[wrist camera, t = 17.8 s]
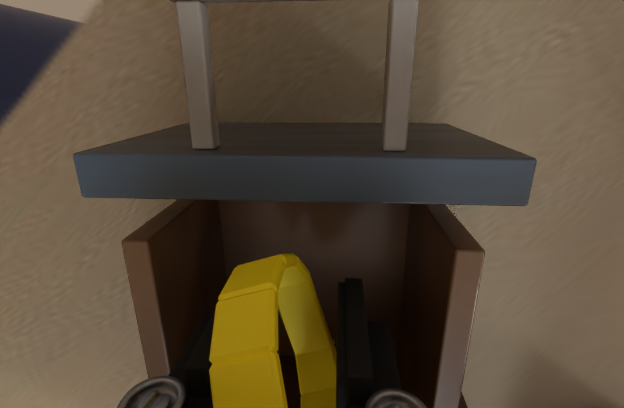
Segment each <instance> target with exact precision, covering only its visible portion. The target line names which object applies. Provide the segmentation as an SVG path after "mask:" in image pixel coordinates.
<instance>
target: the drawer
mask: <svg viewBox="0 0 624 408" xmlns="http://www.w3.org/2000/svg"><path fill="white" fill-rule="evenodd" d="M170 1H172V2H174V3H176V9H177V17H178V26H179V35H180V43H181V52H182V61H183V69H184V78H185V87H186V95H187V104H188V113H189V121H190V123H185V124H181V125H178V126H174V127H170V128H166V129H163V130H159V131H155V132H152V133H148V134H144V135H140V136H137V137H133V138H129V139H126V140H122V141H118V142H114V143H111V144H107V145H103V146H100V147H96V148H92V149H88V150H85V151H81V152H77V153H74V154H73V158H74V163H75V167H76V171H77V176H78V180H79V185H80V189H81V193H82V196H83V197H88V198H139V199H178V200H177V201H175V202H174V203H173V204H171V205H170V206H168V207H167V208H166V209H164V210H163V211H162V212H160V213H159V214H157V215H156V216H155V217H153V218H152V219H151V220H149V221H148V222H146V223H145V224H144V225H142V226H141V227H140V228H138V229H137V230H135V231H134V232H133V233H131V234H130V235H129V236H127V237H126V238H124V239H123V240H122V248H123V253H124V258H125V263H126V268H127V273H128V278H129V283H130V288H131V293H132V298H133V303H134V308H135V313H136V318H137V323H138V328H139V333H140V338H141V343H142V348H143V353H144V358H145V363H146V368H147V373H148V378H149V379H150V378H153V377H157V376H168V375H169V373H170V372H171V370H172V368H173V366H174V365H175V363H176V361H177V360H178V358H179V356H180V354H181V353H182V351H183V349H184V348H185V346H186V344H187V342H188V341H189V339H190V337H191V336H192V334H193V332H194V330H195V329H196V327H197V325H198V324H199V322H200V320H201V318H202V317H203V316H204V315H205V314H213V313H214V311H215V309H216V304H217V302H218V297H219V295H220V293H221V292H222V290H223V288H224V286H225V284H226V283H227V281H228V279H229V277H230V275H231V274H232V272H233V270H234V268H236V267H237V266H238V265H241V264H245V263H249V262H253V261H256V260H260V259H264V258H268V257H271V256H275V255H279V254H289V253H293V254H294V255H296V256H297V257H298V258H299V259H300V260H301V261H302V263H303V264H304V265H305V267H306V268H307V269H308V271H309V272H310V275H311V278H312V281H313V284H314V287H315V290H316V293H317V296H318V299H319V302H320V305H321V308H322V311H323V313H324V316H325V319H326V322H327V325H328V328H329V331H330V334H331V337H332V339H334V341H335V344H334V346H335V347H336V353H337V311H338V282H345V278H362V282H363V291H364V300H365V308H366V317H367V321H385V322H388V324H389V328H390V333H391V338H392V343H393V348H394V353H395V358H396V362H397V367H398V372H399V377H400V382H401V387H402V390H404V391H407V392H409V393H411V394H413V395H415V396H416V397H417V398H418V399H419V400H421V401H422V402H423V403H424V405H425V406H426V407H427V408H458V406H459V400H460V395H461V389H462V383H463V377H464V371H465V366H466V360H467V354H468V348H469V343H470V337H471V331H472V325H473V320H474V314H475V308H476V302H477V297H478V291H479V285H480V279H481V274H482V268H483V262H484V256H485V251H484V249H483V248H482V247H481V246H480V245H479V243H478V242H477V241H476V240H475V239H474V238H473V236H472V235H471V234H470V233H469V232H468V231H467V230H466V228H465V227H464V226H463V225H462V224H461V223H460V221H459V220H458V219H457V218H456V217H455V216H454V214H453V213H452V212H451V211H450V210H449V209H448V207H447V206H446V205H495V206H527V204H528V200H529V195H530V191H531V186H532V181H533V176H534V171H535V166H536V162H537V161H536V158H533V157H531V156H528V155H526V154H523V153H521V152H518V151H515V150H513V149H510V148H508V147H505V146H503V145H500V144H497V143H495V142H492V141H490V140H487V139H485V138H482V137H479V136H477V135H474V134H472V133H469V132H467V131H464V130H461V129H459V128H456V127H454V126H451V125H449V124H426V123H408V122H409V110H410V98H411V86H412V74H413V62H414V50H415V38H416V26H417V14H418V2H419V0H391V1H390V2H389V10H388V27H387V44H386V61H385V78H384V94H383V111H382V123H218V117H217V106H216V95H215V84H214V73H213V61H212V50H211V39H210V28H209V17H208V7H207V5H205V4H203V3H225V2H273V1H322V0H170ZM277 353H278V354H279V358H280V364H281V370H282V376H283V382H284V388H285V394H286V400H287V406H288V408H301V396H302V395H301V394H300V388H299V381H298V373H297V366H296V359H295V353H294V350H293V347H292V345H291V342H290V339H289V337H288V334H287V331H286V328H285V326H284V323H283V320H282V318H281V315H280V312H279V310H278V351H277Z"/></svg>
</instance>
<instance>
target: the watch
mask: <svg viewBox="0 0 624 408" xmlns="http://www.w3.org/2000/svg"><path fill="white" fill-rule="evenodd" d="M278 310H279V312H280V315H281V318H282V320H283V323H284V326H285V328H286V331H287V334H288V337H289V339H290V342H291V345H292V347H293V350H294V353H295V359H296V366H297V373H298V381H299V388H300V394H301V395H302V396H301V408H336V356H337V353H336V347H335V346H334V344H335V341H334V339H332V337H331V334H330V331H329V328H328V325H327V322H326V319H325V316H324V313H323V311H322V308H321V305H320V302H319V299H318V296H317V293H316V290H315V287H314V284H313V281H312V278H311V275H310V272H309V271H308V269H307V268H306V267H305V265H304V264H303V263H302V261H301V260H300V259H299V258H298V257H297V256H296V255H294V254H293V253H289V254H279V255H275V256H271V257H268V258H264V259H260V260H256V261H253V262H249V263H245V264H241V265H238V266H237V267H236V268H234V270H233V272H232V274H231V275H230V277H229V279H228V281H227V283H226V284H225V286H224V288H223V290H222V292H221V293H220V295H219V297H218V302H217V304H216V309H215V317H214V325H213V333H212V341H211V349H210V357H209V361H210V362H211V363H212V366H211V367H210V369H209V374H210V383H211V392H212V402H213V408H288V406H287V400H286V394H285V388H284V382H283V376H282V370H281V364H280V358H279V354H278V353H277V351H278Z"/></svg>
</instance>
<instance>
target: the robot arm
mask: <svg viewBox="0 0 624 408" xmlns="http://www.w3.org/2000/svg"><path fill="white" fill-rule="evenodd" d="M214 317H215V311H214V313H213V314H205V315H204V316H203V317H202V318H201V320H200V322H199V324H198V325H197V327H196V329H195V330H194V332H193V334H192V336H191V337H190V339H189V341H188V342H187V344H186V346H185V348H184V349H183V351H182V353H181V354H180V356H179V358H178V360H177V361H176V363H175V365H174V366H173V368H172V370H171V372H170V373H169V375H168V376H157V377H153V378H150V379H147V380H145V381H143V382H141V383H139V384H137V385H136V386H134V387H133V388H132V389H131V390H130V391H128V392H127V394H126V395H125V396H124V397H123V399H122V400H121V401H120V403H119V405H118V406H117V408H213V402H212V392H211V383H210V374H209V369H210V367H211V366H212V363H211V362H210V361H209V357H210V349H211V341H212V333H213V325H214ZM336 408H427V407H426V406H425V405H424V403H423V402H422V401H421V400H419V399H418V398H417V397H416V396H415V395H413V394H411V393H409V392H407V391H404V390H402V387H401V382H400V377H399V372H398V367H397V362H396V358H395V353H394V348H393V343H392V338H391V333H390V328H389V324H388V322H385V321H367V317H366V308H365V300H364V291H363V282H362V278H345V282H338V311H337V356H336Z"/></svg>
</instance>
